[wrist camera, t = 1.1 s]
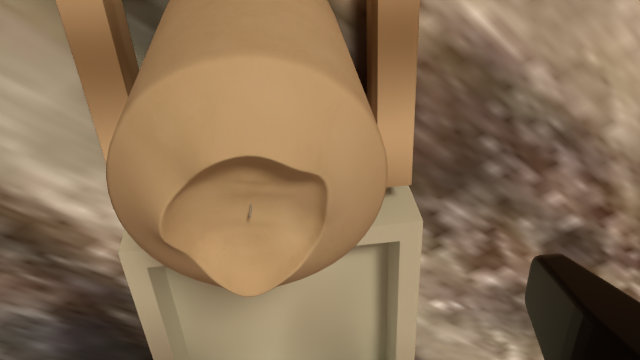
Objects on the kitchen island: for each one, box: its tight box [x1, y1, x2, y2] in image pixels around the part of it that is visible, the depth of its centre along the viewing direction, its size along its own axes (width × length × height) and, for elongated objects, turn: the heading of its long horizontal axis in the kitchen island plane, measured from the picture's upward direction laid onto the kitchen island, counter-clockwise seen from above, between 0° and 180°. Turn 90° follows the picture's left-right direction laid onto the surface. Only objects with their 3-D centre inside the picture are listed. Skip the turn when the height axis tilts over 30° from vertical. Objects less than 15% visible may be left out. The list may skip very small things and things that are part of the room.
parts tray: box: [118, 185, 423, 360], centre depth 24 cm, size 11×11×2 cm
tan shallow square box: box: [56, 0, 420, 187], centre depth 17 cm, size 10×10×2 cm
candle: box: [106, 0, 388, 297], centre depth 14 cm, size 6×6×10 cm
